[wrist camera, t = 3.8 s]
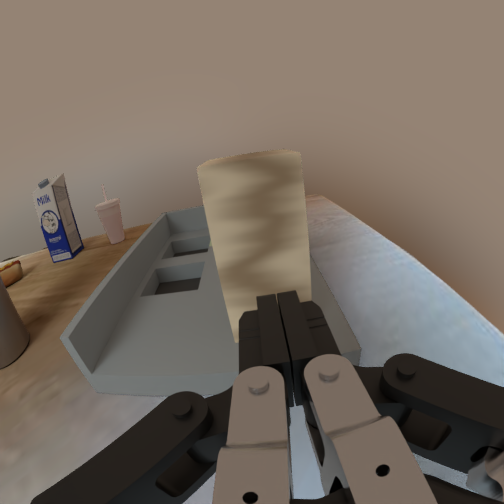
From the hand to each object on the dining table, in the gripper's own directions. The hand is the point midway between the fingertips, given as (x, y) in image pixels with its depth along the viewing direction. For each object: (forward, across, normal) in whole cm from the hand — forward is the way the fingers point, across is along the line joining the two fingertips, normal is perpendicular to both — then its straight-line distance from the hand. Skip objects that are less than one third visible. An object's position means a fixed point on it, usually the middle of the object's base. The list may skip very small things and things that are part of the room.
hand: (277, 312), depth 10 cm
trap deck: (+21, +5, +10) cm, 24 cm away
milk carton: (+45, +47, +10) cm, 66 cm away
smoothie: (+48, +33, +10) cm, 59 cm away
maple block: (+10, 0, +8) cm, 13 cm away
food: (+31, +62, +10) cm, 70 cm away
